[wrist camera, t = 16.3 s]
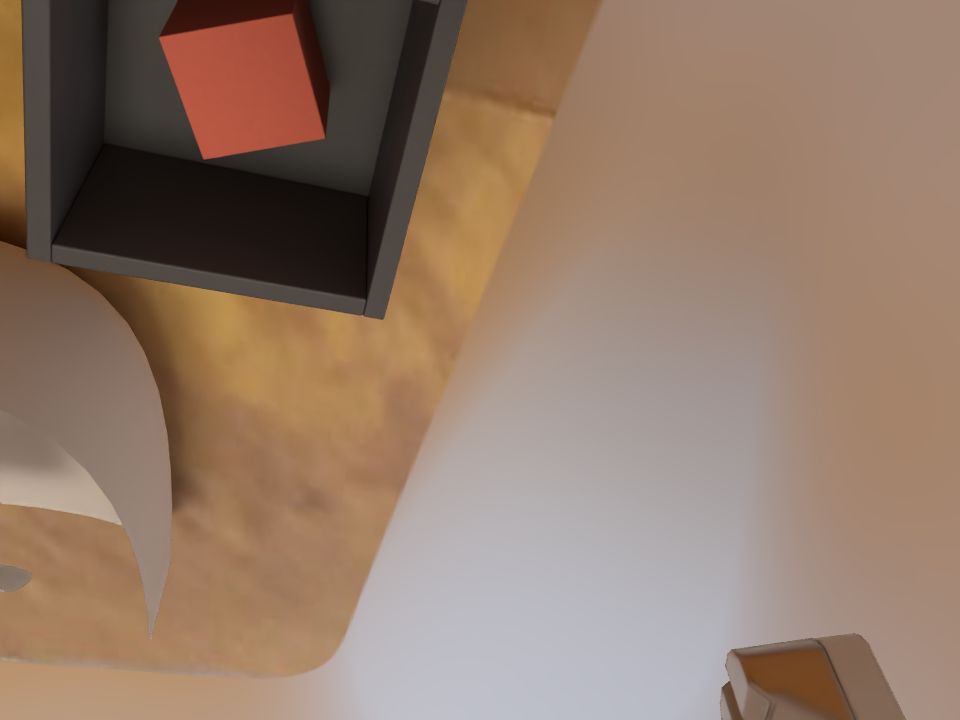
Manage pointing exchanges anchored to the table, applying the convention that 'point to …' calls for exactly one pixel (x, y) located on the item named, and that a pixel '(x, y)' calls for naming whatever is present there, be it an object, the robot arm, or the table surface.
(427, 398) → the table surface
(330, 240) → the bin
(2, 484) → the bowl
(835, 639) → the robot arm
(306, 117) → the toy block
